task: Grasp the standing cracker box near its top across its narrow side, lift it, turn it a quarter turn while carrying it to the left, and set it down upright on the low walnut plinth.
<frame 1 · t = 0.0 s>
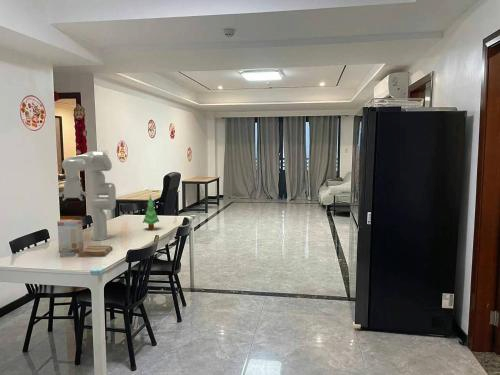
hand: (73, 206, 223), 31 cm above the table, fingers open, 9 cm apart
bracket: (67, 256, 226), on the table
plinth: (96, 253, 231), on the table
cracker box: (71, 251, 236), on the table
decorative tree: (151, 229, 303), on the table
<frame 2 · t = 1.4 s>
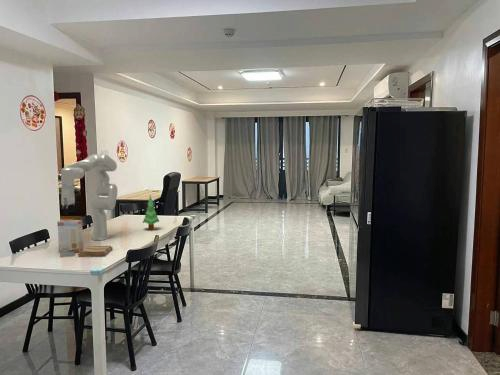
hand: (69, 213, 233), 26 cm above the table, fingers open, 9 cm apart
nothing on the table moved.
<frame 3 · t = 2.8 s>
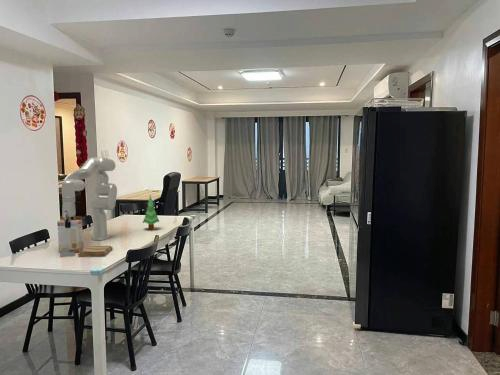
hand: (70, 226, 234), 17 cm above the table, fingers closed on cracker box, 6 cm apart
cracker box: (71, 251, 236), on the table, touching gripper
everything else where it was.
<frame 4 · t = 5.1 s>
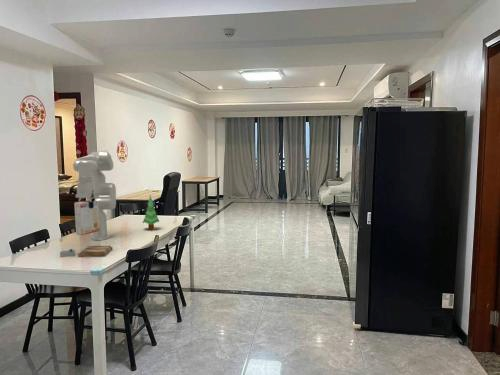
hand: (86, 207, 229), 30 cm above the table, fingers closed on cracker box, 6 cm apart
cracker box: (87, 233, 231), point 13 cm above the table, touching gripper
everything else where it was.
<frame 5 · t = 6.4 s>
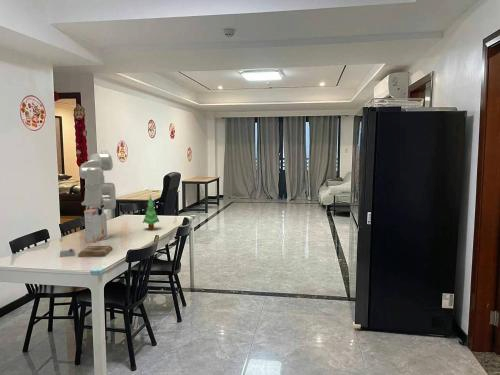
hand: (94, 214, 228), 25 cm above the table, fingers closed on cracker box, 6 cm apart
cracker box: (95, 240, 230), point 8 cm above the table, touching gripper
everything else where it was.
when the fingers open (20 cm above the table, at t = 7.7 s): cracker box stays where it is, resting on plinth.
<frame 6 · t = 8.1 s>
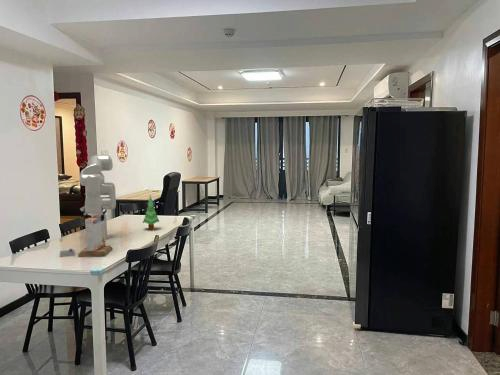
hand: (94, 220, 229), 21 cm above the table, fingers open, 9 cm apart
cracker box: (96, 248, 231), point 3 cm above the table, touching plinth
everything else where it was.
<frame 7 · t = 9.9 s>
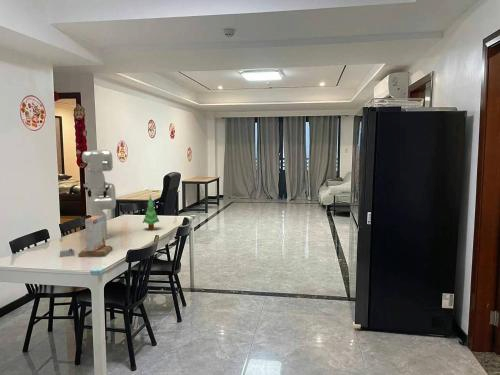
hand: (97, 196, 236), 36 cm above the table, fingers open, 9 cm apart
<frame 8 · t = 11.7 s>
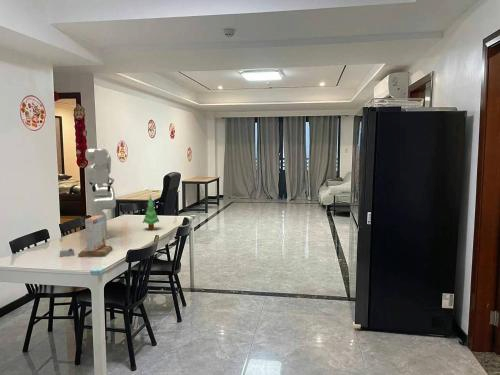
hand: (101, 191, 245), 38 cm above the table, fingers open, 9 cm apart
at the end: cracker box inside the target area on the plinth (0.3 cm from its centre), point 2.8 cm above the plinth's base; cracker box tilted 0°; the gripper is holding nothing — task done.
